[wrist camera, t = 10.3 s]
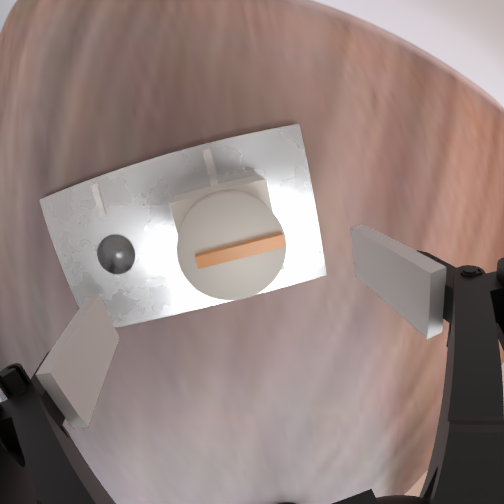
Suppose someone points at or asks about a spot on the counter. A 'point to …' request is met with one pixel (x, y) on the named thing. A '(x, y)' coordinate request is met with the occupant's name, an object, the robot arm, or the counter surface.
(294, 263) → the panel
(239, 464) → the counter surface
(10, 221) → the counter surface
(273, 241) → the knob
